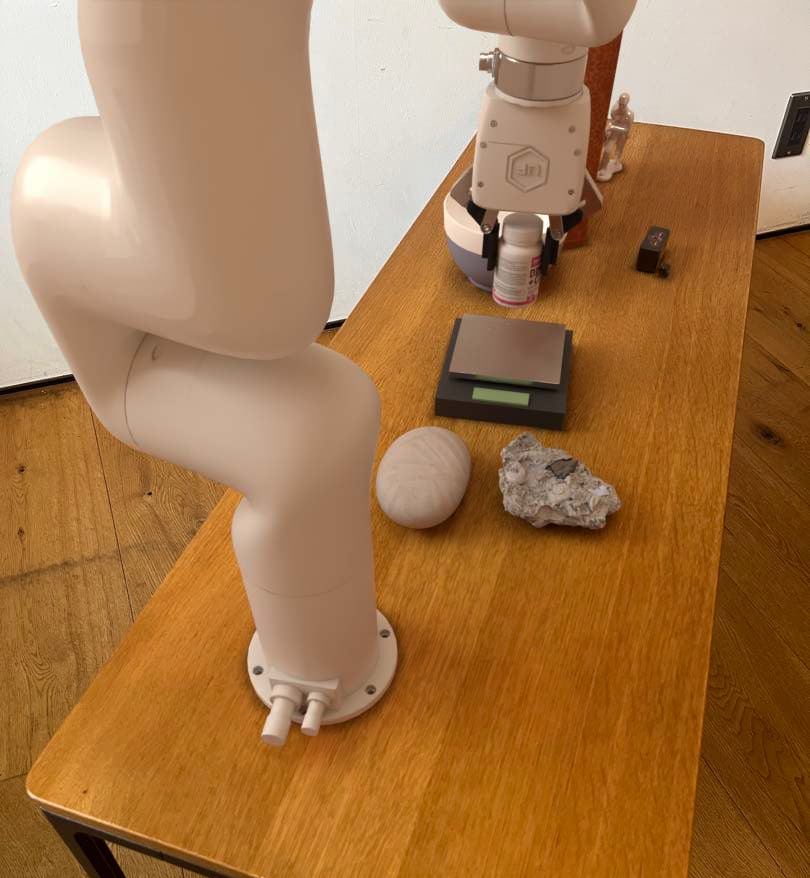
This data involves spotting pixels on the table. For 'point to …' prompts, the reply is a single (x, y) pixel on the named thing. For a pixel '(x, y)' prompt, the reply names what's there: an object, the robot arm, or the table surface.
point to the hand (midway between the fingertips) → (518, 265)
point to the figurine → (616, 137)
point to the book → (596, 117)
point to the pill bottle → (518, 260)
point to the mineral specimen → (552, 486)
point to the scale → (503, 395)
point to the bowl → (474, 242)
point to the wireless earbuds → (654, 251)
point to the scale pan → (509, 351)
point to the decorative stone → (423, 477)
